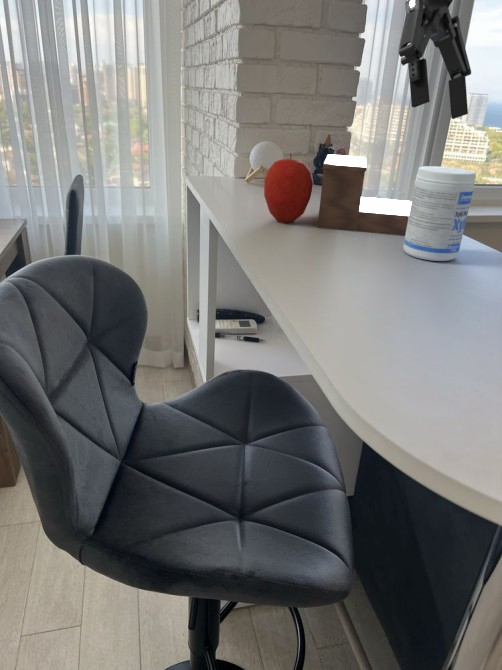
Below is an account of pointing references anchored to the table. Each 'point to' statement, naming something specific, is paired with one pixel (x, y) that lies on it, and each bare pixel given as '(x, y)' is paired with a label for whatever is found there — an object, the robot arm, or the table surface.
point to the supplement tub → (438, 212)
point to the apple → (288, 189)
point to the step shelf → (357, 200)
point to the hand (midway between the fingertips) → (441, 110)
